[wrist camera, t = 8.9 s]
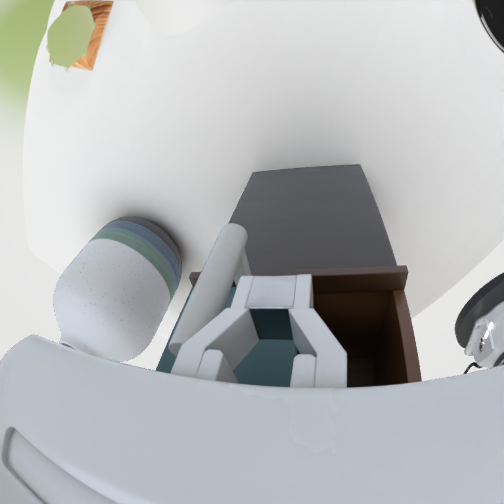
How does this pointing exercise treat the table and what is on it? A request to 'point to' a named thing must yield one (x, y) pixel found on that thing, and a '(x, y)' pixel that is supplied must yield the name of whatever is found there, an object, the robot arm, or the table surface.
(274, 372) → the sliding door
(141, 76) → the table surface
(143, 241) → the vase
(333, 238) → the cabinet
